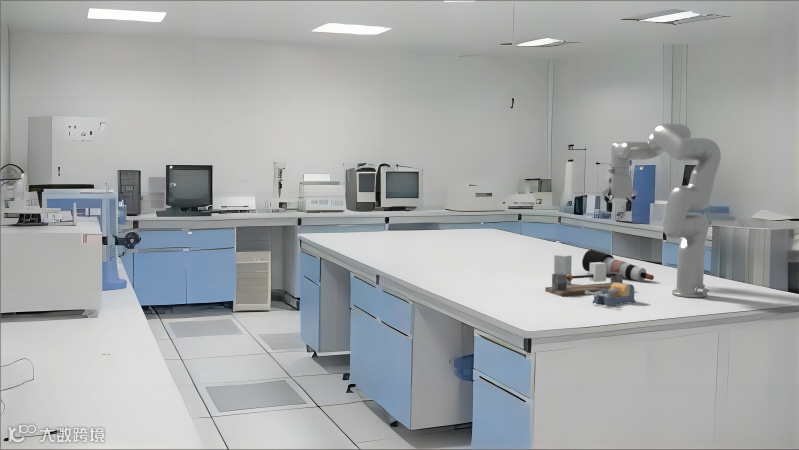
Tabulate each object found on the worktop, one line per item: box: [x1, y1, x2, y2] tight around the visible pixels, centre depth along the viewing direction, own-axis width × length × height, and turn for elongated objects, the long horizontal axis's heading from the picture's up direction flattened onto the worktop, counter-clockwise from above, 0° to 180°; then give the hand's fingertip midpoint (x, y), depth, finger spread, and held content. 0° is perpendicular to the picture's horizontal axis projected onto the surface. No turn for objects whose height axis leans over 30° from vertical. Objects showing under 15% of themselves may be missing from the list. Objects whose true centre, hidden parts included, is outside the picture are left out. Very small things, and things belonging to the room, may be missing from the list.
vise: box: [585, 282, 636, 307], centre depth 282 cm, size 18×10×7 cm, turn 126°
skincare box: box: [553, 253, 573, 285], centre depth 323 cm, size 6×4×12 cm
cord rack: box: [544, 272, 624, 297], centre depth 305 cm, size 12×30×8 cm, turn 111°
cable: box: [581, 249, 655, 282], centre depth 339 cm, size 10×34×10 cm, turn 37°
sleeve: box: [588, 262, 607, 283], centre depth 306 cm, size 4×5×7 cm
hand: (619, 211), depth 333 cm, fingers open, 9 cm apart
